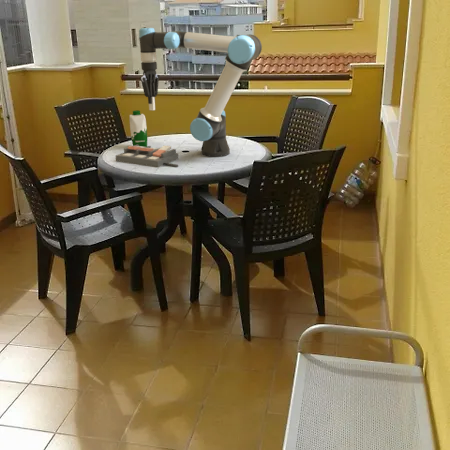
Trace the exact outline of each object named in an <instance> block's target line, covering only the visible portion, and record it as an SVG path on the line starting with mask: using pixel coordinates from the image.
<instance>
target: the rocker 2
mask: <svg viewBox="0 0 450 450" xmlns="http://www.w3.org/2000/svg"><path fill="white" fill-rule="evenodd" d="M159 148H160V149H158V150H157V151H156V152H154V153H153V156H157V157H161V154H162V153H164V152H167V151H170V150H172V146H170V145H163V146H161V147H159Z"/></svg>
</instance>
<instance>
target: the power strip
mask: <svg viewBox="0 0 450 450" xmlns="http://www.w3.org/2000/svg"><path fill="white" fill-rule="evenodd" d="M134 146H139V145H134ZM144 148H152V147H151V145H147V147H144ZM160 148H161V147H158V149H160ZM158 149H155V150H153V151H142V150H140V149H139V150H134V149H128V147H125V148H124V149H123V152H122V153H121V152H120V153H118V154H116V155H115V161H116V162H119V163H120V162H121V163H125V164H126V163H127V164H135V165H139V166H147V167H153V168H160V167H162V166H167V167H175V168H178V167H179V165H178V164H176V163H173V162H174V161H178V160H179V153H178V152H177V151H176V150H177V149H176V148H171V149H170V150H169V151H167V152H164V153H162V154H161V157H157V156H153V153H154V152H156V151H157V150H158Z"/></svg>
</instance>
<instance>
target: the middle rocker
mask: <svg viewBox="0 0 450 450" xmlns="http://www.w3.org/2000/svg"><path fill="white" fill-rule="evenodd" d="M158 148H159V147H158ZM158 148H157V147H151V148H140V150H142V151H153V150H155V149H158Z"/></svg>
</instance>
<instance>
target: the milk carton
mask: <svg viewBox="0 0 450 450" xmlns="http://www.w3.org/2000/svg"><path fill="white" fill-rule="evenodd" d="M129 129H130V138H131V143H132V146H134V145H139V146H143V147H147V146H148V131H147V130H148V129H147V120H146V115H145V114H144V113H141V111H140V110H132V114H129Z"/></svg>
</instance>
